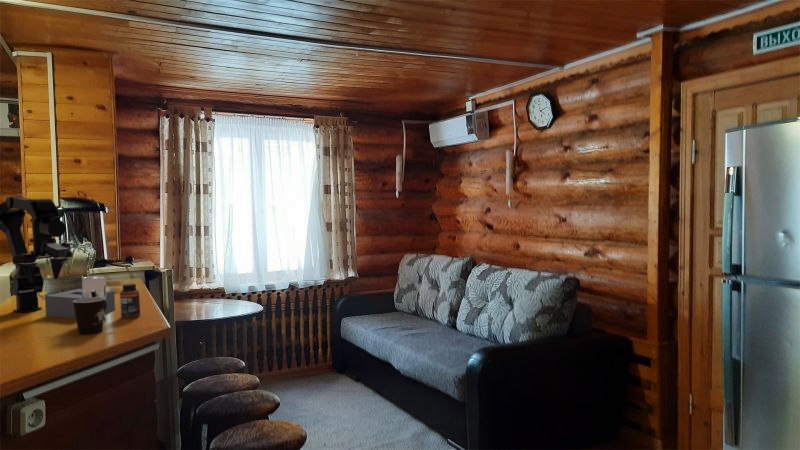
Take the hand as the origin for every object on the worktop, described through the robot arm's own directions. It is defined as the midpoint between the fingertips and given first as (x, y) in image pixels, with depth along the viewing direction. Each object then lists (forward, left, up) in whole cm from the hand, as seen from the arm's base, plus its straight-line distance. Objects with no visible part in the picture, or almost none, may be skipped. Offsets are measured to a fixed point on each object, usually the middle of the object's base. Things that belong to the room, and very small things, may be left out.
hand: (44, 280), depth 197 cm
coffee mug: (+33, -13, -12) cm, 38 cm away
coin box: (+9, +6, -12) cm, 16 cm away
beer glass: (+25, -4, -12) cm, 28 cm away
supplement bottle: (+30, +6, -12) cm, 33 cm away
